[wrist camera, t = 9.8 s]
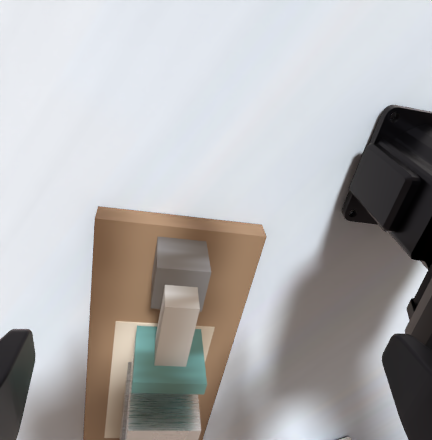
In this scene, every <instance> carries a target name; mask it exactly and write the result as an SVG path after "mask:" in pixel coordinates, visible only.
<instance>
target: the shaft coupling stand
mask: <svg viewBox="0 0 432 440" xmlns="http://www.w3.org/2000/svg"><path fill="white" fill-rule="evenodd" d="M265 240H266V234H265V232H264V229H263V227H262V225H259V224H250V223H241V222H232V221H223V220H214V219H205V218H197V217H188V216H179V215H170V214H161V213H152V212H143V211H134V210H126V209H117V208H108V207H99V206H98V209H97V213H96V216H95V226H94V245H93V264H92V283H91V302H90V321H89V340H88V359H87V378H86V398H85V417H84V436H83V440H119V438H120V428H121V417H122V407H123V399H124V392H125V384H126V376H127V368H128V362H132V355H133V347H134V340H135V351H134V365H133V378H132V391H131V393H157V394H198V400H199V412H200V424H201V433H200V436H199V439H198V440H202V439H203V436H204V433H205V430H206V427H207V423H208V420H209V417H210V414H211V411H212V408H213V404H214V401H215V398H216V395H217V392H218V389H219V385H220V382H221V379H222V376H223V373H224V370H225V366H226V363H227V360H228V357H229V354H230V351H231V347H232V344H233V341H234V338H235V335H236V332H237V328H238V325H239V322H240V319H241V316H242V313H243V309H244V306H245V303H246V300H247V297H248V294H249V290H250V287H251V284H252V281H253V278H254V275H255V271H256V268H257V265H258V262H259V259H260V256H261V252H262V249H263V246H264V243H265ZM135 335H136V338H135Z"/></svg>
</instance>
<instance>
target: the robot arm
mask: <svg viewBox="0 0 432 440" xmlns="http://www.w3.org/2000/svg"><path fill="white" fill-rule="evenodd" d="M394 112H396V115H395V117H394V118H393V119H392V120H390V116H391V114H393V113H394ZM349 189H350V191H349V194H348V196H347V199H346V201H345V203H344V206H343V208H342V215H343V216H344V217H345V218H346V220H348V221H354V222H362V223H371V224H379V225H380V227H381V228H382V229H383V230H384V231H387V232H389V233H390V235H391V236H392V237H393V238H394V239H395V240H396V241H397V243H398V244H399V245H400V246H401V247H402V248H403V250H404V251H405V252H406V253H407V254H408V255H409V256H410V258H411V259H413V260H420V261H421V262H422V263H423V265H424V266H425V267H426V268H427V269H428V272H427V274H426V276H425V278H424V280H423V282H422V284H421V286H420V288H419V290H418V292H417V294H416V296H415V298H412V299H411V300H410V302H409V304H408V306H407V312H408V316H409V320H410V321H409V323H408V325H407V327H406V329H405V334H394V335H393V336H392V337H391V339H390V341H389V343H388V345H387V346H386V348H385V350H384V352H383V355H382V363H383V367H384V370H385V373H386V376H387V379H388V383H389V386H390V389H391V392H392V395H393V399H394V402H395V405H396V408H397V411H398V414H399V417H400V420H401V422H402V425H403V428H404V430H405V432H406V435H407V437H408V440H432V112H430V111H424V110H419V109H414V108H409V107H403V106H398V105H390V106H388V107H386V108H385V109H384V110H383V112H382V114H381V116H380V119H379V121H378V124H377V126H376V128H375V131H374V133H373V136H372V138H371V141H370V143H369V145H368V146H366V148H365V150H364V153H363V155H362V158H361V160H360V162H359V165H358V167H357V170H356V172H355V175H354V177H353V179H352V182H351V184H350V187H349ZM354 209H355V210H354ZM351 210H354V212H353V213H351V214H349V212H350V211H351ZM34 363H35V349H34V342H33V335H32V332H31V330H29V329H13V330H10V331H9V332H8V333H7V334H6V335H5V336H4V337H2V338H1V339H0V440H16V438H17V435H18V432H19V428H20V424H21V420H22V416H23V412H24V407H25V403H26V399H27V394H28V390H29V385H30V381H31V377H32V372H33V368H34Z"/></svg>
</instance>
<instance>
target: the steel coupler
mask: <svg viewBox="0 0 432 440" xmlns="http://www.w3.org/2000/svg"><path fill="white" fill-rule="evenodd" d="M135 338H136V335H135ZM134 351H135V340H134V347H133V355H132V362H128V368H127V376H126V384H125V392H124V399H123V407H122V417H121V428H120V438H119V440H198V439H199V436H200V433H201V424H200V412H199V400H198V394H157V393H131V391H132V378H133V365H134Z"/></svg>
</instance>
